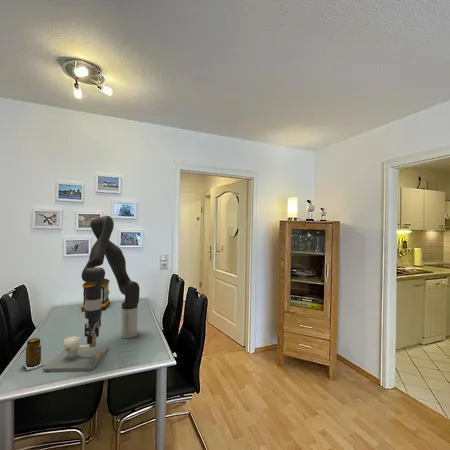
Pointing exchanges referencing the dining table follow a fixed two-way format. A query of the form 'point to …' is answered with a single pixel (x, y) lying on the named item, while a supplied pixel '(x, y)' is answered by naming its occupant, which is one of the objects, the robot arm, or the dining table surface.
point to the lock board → (76, 360)
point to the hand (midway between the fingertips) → (93, 340)
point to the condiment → (33, 352)
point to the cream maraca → (78, 344)
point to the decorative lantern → (104, 292)
